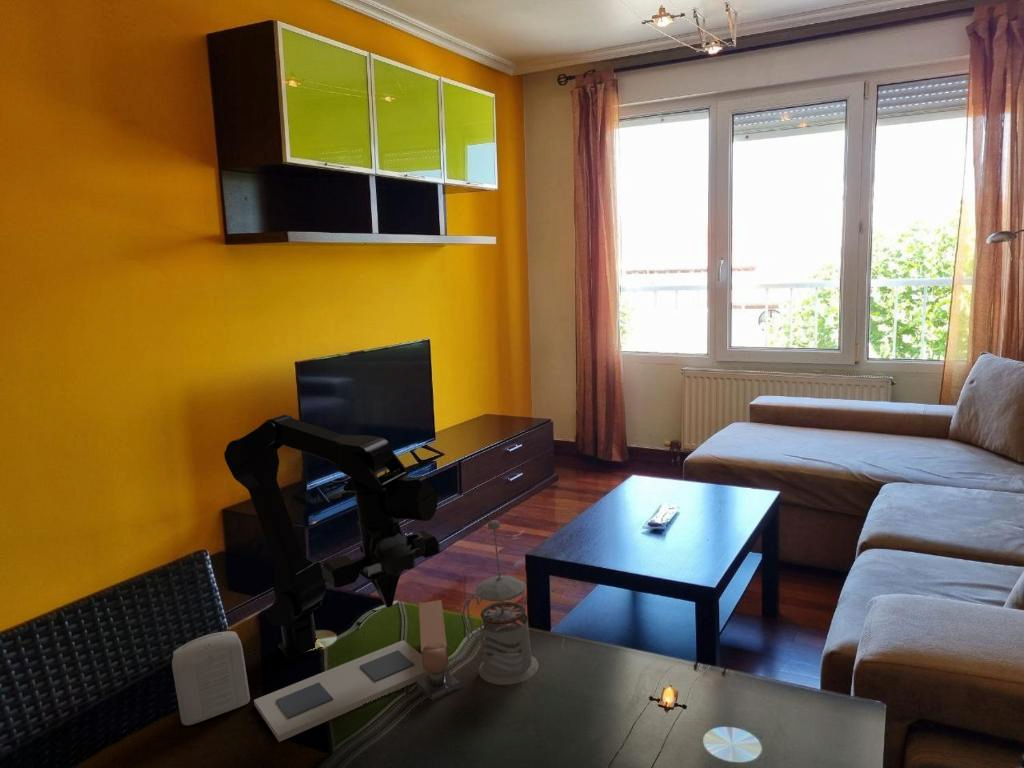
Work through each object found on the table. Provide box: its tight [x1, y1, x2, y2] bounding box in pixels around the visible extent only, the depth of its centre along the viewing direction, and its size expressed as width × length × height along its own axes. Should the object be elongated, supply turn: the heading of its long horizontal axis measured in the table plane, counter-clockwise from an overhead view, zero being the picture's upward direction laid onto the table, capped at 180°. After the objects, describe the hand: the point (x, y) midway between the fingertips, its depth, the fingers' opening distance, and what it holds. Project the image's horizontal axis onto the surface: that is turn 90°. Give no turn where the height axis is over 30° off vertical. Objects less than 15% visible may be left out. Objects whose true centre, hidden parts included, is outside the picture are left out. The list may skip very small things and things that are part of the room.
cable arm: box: [418, 599, 450, 673], centre depth 124 cm, size 19×4×3 cm, turn 8°
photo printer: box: [171, 630, 251, 727], centre depth 116 cm, size 10×4×12 cm, turn 123°
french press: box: [462, 519, 540, 686], centre depth 120 cm, size 10×12×25 cm
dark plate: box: [415, 669, 461, 702], centre depth 117 cm, size 5×5×3 cm
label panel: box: [253, 639, 429, 743], centre depth 119 cm, size 12×26×1 cm, turn 125°
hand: (388, 606), depth 124 cm, fingers closed
